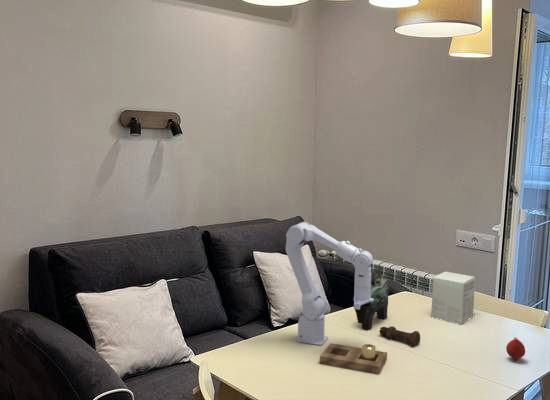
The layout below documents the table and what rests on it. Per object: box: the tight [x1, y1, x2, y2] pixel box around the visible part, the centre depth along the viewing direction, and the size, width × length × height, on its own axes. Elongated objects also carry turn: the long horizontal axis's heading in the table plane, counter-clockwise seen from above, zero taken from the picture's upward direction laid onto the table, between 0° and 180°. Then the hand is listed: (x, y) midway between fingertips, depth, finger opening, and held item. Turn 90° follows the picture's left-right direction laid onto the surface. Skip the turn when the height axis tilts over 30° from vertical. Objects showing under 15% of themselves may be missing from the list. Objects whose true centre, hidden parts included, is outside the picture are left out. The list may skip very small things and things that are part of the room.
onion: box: [505, 336, 526, 361], centre depth 176 cm, size 6×6×8 cm
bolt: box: [378, 325, 421, 347], centre depth 193 cm, size 6×5×15 cm
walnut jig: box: [319, 342, 388, 375], centre depth 175 cm, size 20×12×2 cm, turn 67°
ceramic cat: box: [361, 273, 391, 331], centre depth 210 cm, size 20×6×20 cm, turn 144°
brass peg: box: [361, 343, 377, 361], centre depth 173 cm, size 4×4×6 cm
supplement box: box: [430, 271, 476, 325], centre depth 217 cm, size 13×13×18 cm
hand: (361, 323), depth 185 cm, fingers closed
